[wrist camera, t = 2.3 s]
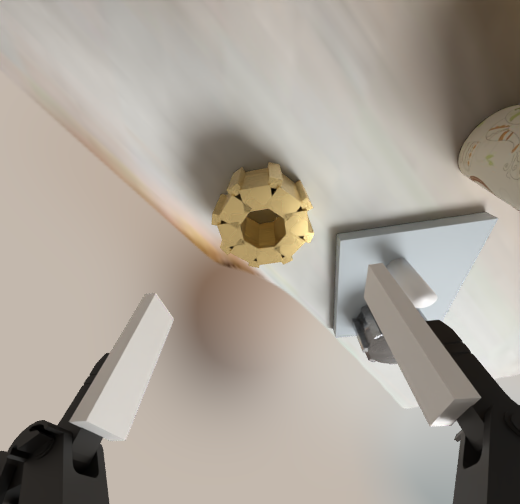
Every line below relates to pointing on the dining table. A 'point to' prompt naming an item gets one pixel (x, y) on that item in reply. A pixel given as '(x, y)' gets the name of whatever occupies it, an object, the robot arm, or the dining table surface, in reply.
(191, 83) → the dining table surface
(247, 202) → the gear
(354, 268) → the gear board
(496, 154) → the mug
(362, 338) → the gear
